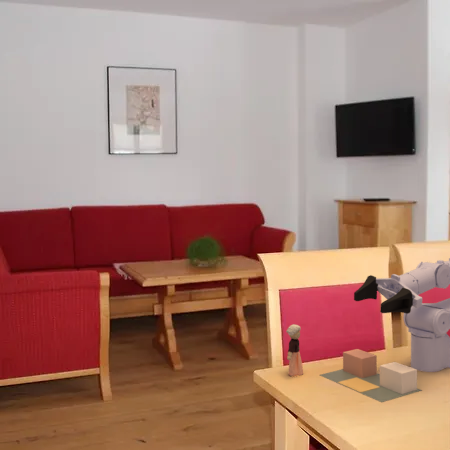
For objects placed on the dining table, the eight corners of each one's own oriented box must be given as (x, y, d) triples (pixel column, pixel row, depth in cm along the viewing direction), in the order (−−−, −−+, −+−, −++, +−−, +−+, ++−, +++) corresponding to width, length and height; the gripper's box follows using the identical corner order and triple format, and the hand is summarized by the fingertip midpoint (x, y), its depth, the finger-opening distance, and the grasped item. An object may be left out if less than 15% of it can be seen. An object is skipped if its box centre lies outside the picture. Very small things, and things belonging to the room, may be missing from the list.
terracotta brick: (357, 366, 143) (357, 348, 143) (376, 374, 137) (376, 355, 137) (343, 370, 141) (342, 352, 140) (362, 378, 135) (361, 359, 135)
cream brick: (394, 381, 133) (394, 361, 132) (416, 389, 127) (417, 369, 127) (379, 385, 130) (379, 365, 130) (401, 394, 125) (401, 373, 124)
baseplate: (357, 368, 144) (357, 365, 144) (422, 393, 127) (422, 389, 127) (319, 378, 138) (319, 374, 138) (381, 406, 121) (381, 401, 121)
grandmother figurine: (302, 382, 135) (301, 328, 134) (285, 382, 136) (284, 328, 135) (304, 371, 143) (303, 320, 142) (288, 371, 144) (287, 320, 142)
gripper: (384, 260, 141) (344, 275, 134) (436, 279, 130) (395, 297, 122) (383, 287, 143) (343, 303, 136) (434, 308, 132) (393, 327, 125)
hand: (368, 302), depth 129 cm, fingers open, 7 cm apart
